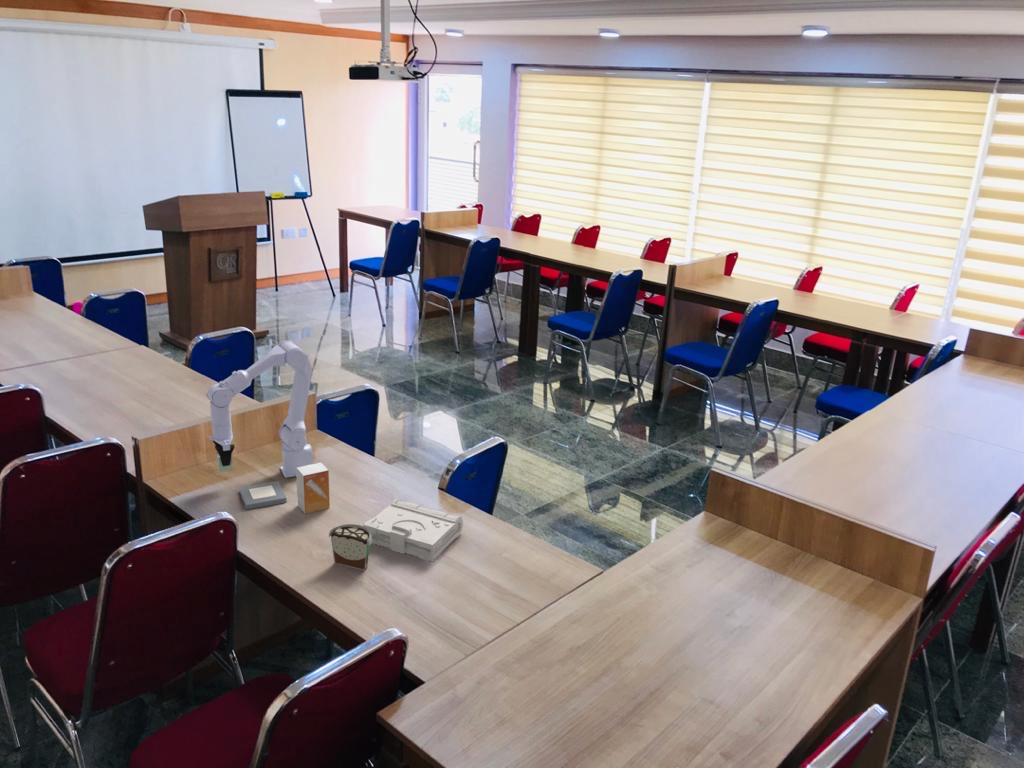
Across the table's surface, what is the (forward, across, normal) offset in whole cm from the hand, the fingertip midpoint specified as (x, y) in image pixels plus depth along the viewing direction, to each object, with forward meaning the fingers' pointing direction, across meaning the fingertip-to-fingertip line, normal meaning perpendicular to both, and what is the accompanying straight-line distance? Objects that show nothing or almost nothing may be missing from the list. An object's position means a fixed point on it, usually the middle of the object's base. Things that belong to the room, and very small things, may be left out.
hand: (225, 462), depth 264 cm
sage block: (+2, 0, 0) cm, 2 cm away
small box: (+9, +23, +22) cm, 33 cm away
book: (+9, +50, +42) cm, 66 cm away
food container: (+9, +57, +25) cm, 63 cm away
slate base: (+9, +11, +9) cm, 17 cm away
